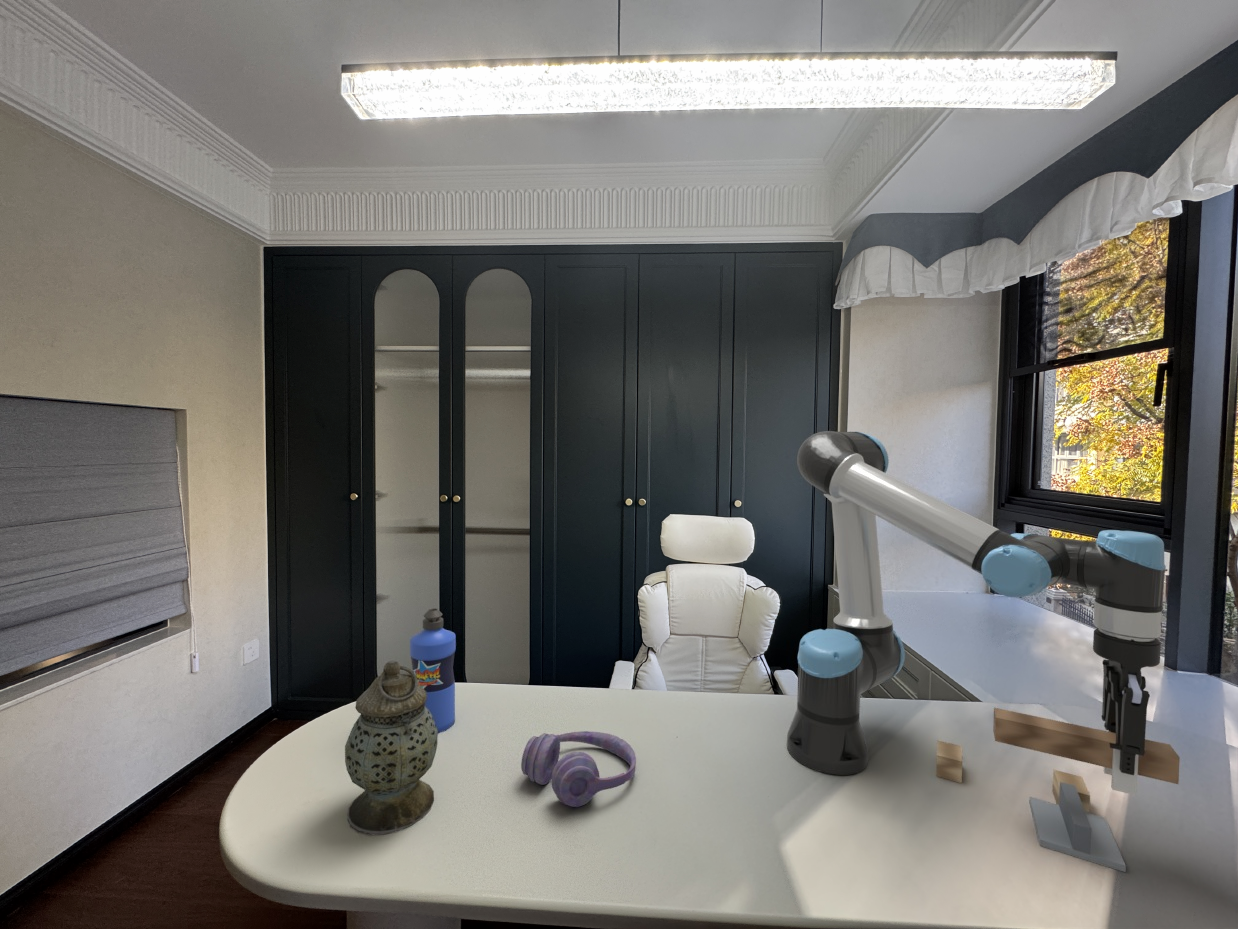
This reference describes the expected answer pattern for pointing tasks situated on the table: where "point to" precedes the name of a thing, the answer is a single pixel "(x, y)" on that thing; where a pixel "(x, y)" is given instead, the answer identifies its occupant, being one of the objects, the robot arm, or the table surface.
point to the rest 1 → (949, 761)
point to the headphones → (574, 765)
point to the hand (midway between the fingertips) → (1119, 782)
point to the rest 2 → (1071, 780)
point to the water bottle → (435, 668)
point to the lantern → (391, 753)
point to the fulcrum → (1075, 829)
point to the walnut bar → (1080, 743)
